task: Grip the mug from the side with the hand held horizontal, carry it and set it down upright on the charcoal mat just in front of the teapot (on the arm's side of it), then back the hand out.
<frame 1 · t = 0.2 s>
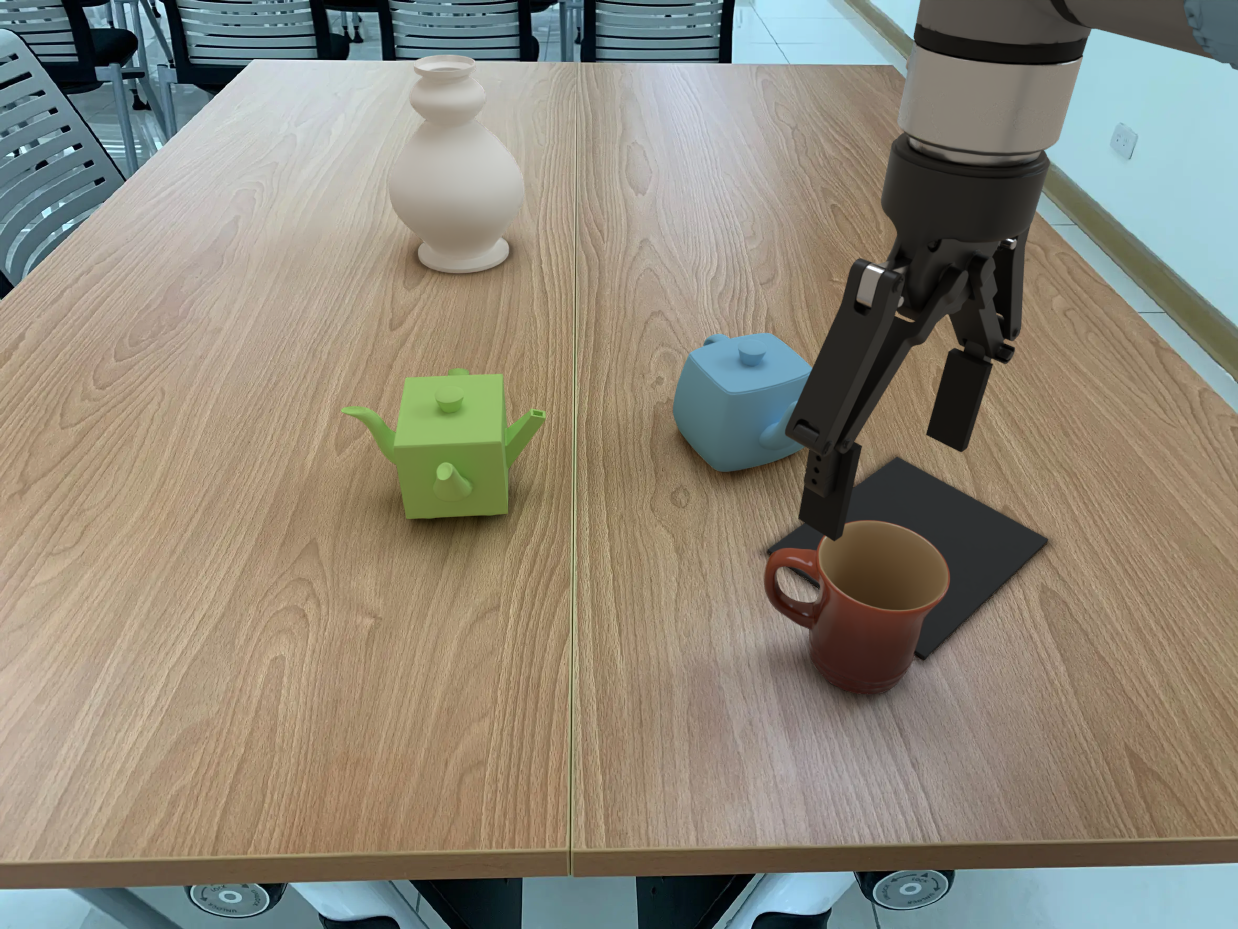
hand: (887, 482, 56), 19 cm above the table, tool pointing down, fingers open, 13 cm apart
kettle: (455, 493, 84), on the table
decorative vase: (464, 254, 124), on the table
front mat: (908, 547, 79), on the table
mug: (832, 657, 70), on the table
teapot: (747, 450, 90), on the table
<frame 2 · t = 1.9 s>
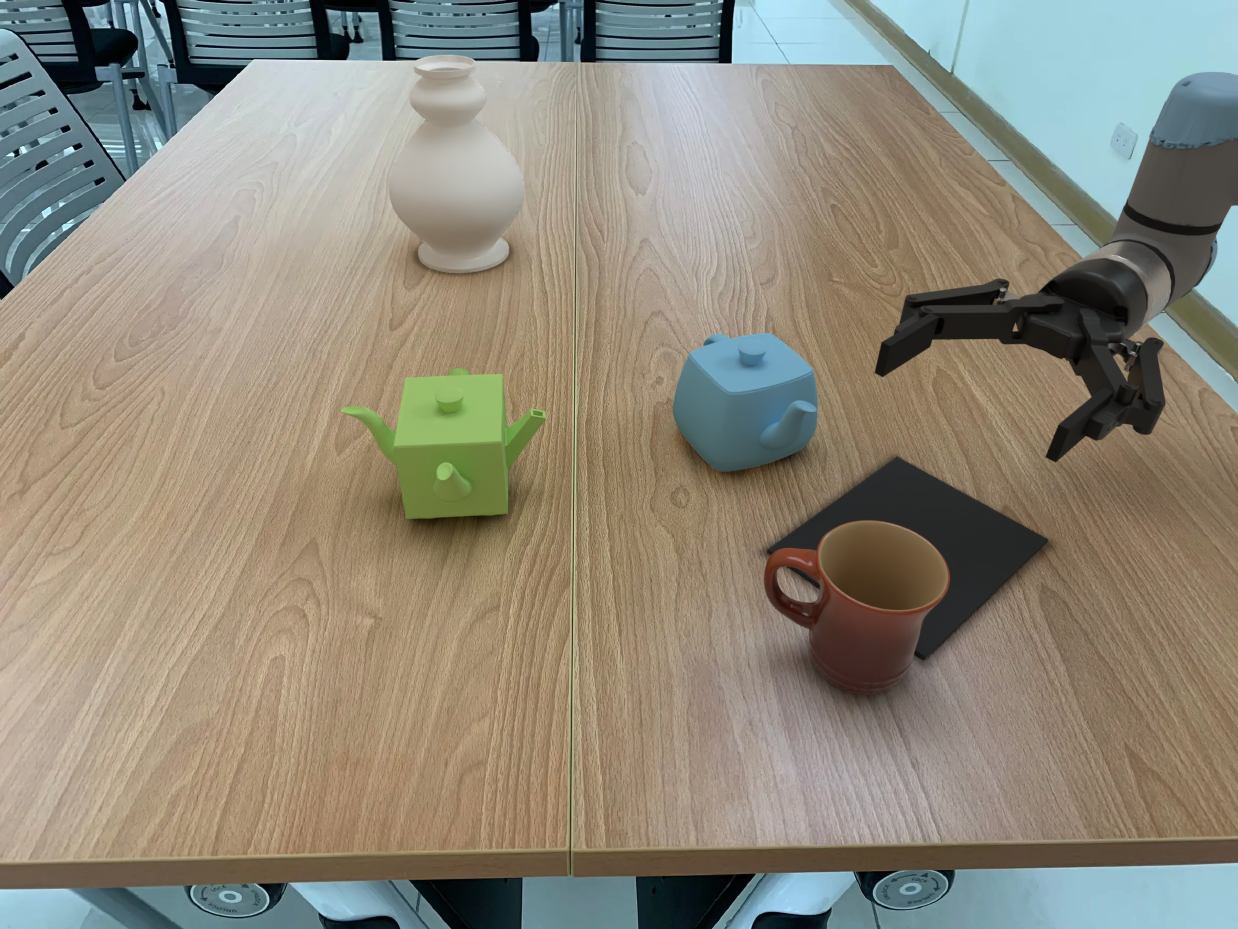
hand: (963, 399, 62), 20 cm above the table, tool horizontal, fingers open, 13 cm apart
nothing on the table moved.
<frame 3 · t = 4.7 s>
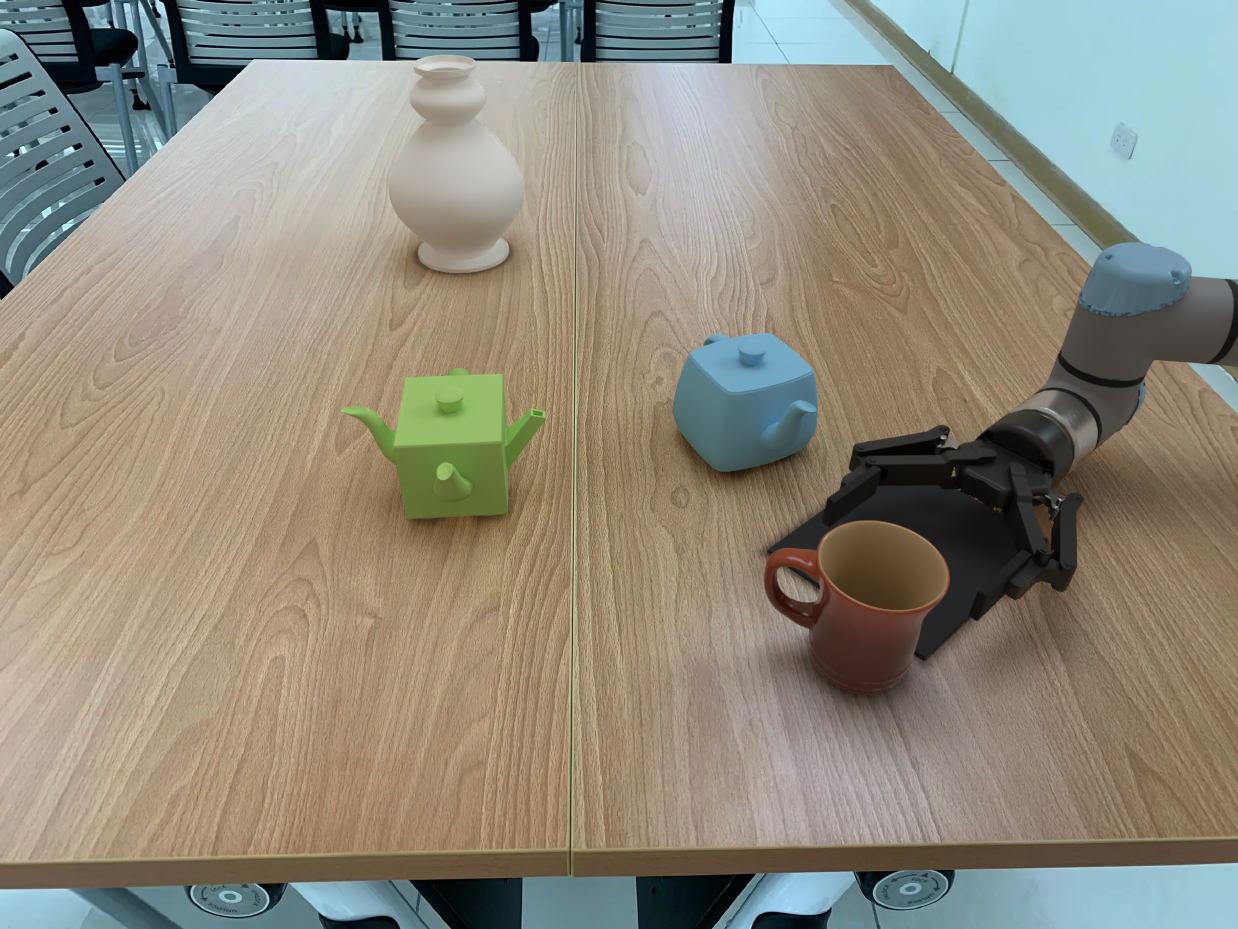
hand: (898, 557, 69), 7 cm above the table, tool horizontal, fingers open, 13 cm apart
nothing on the table moved.
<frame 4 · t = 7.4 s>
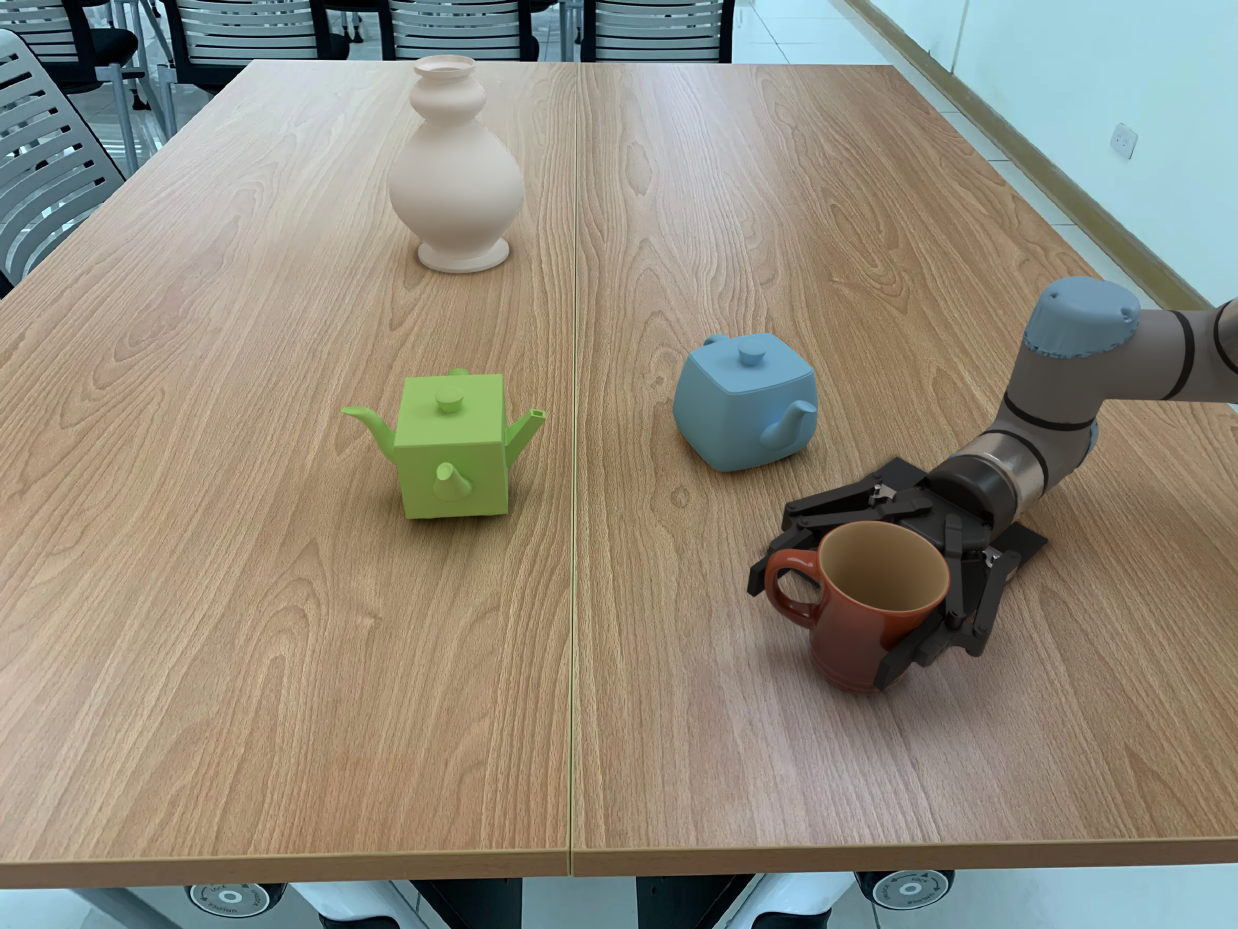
hand: (813, 627, 63), 7 cm above the table, tool horizontal, fingers closed on mug, 11 cm apart
mug: (832, 658, 70), on the table, touching gripper
everything else where it was.
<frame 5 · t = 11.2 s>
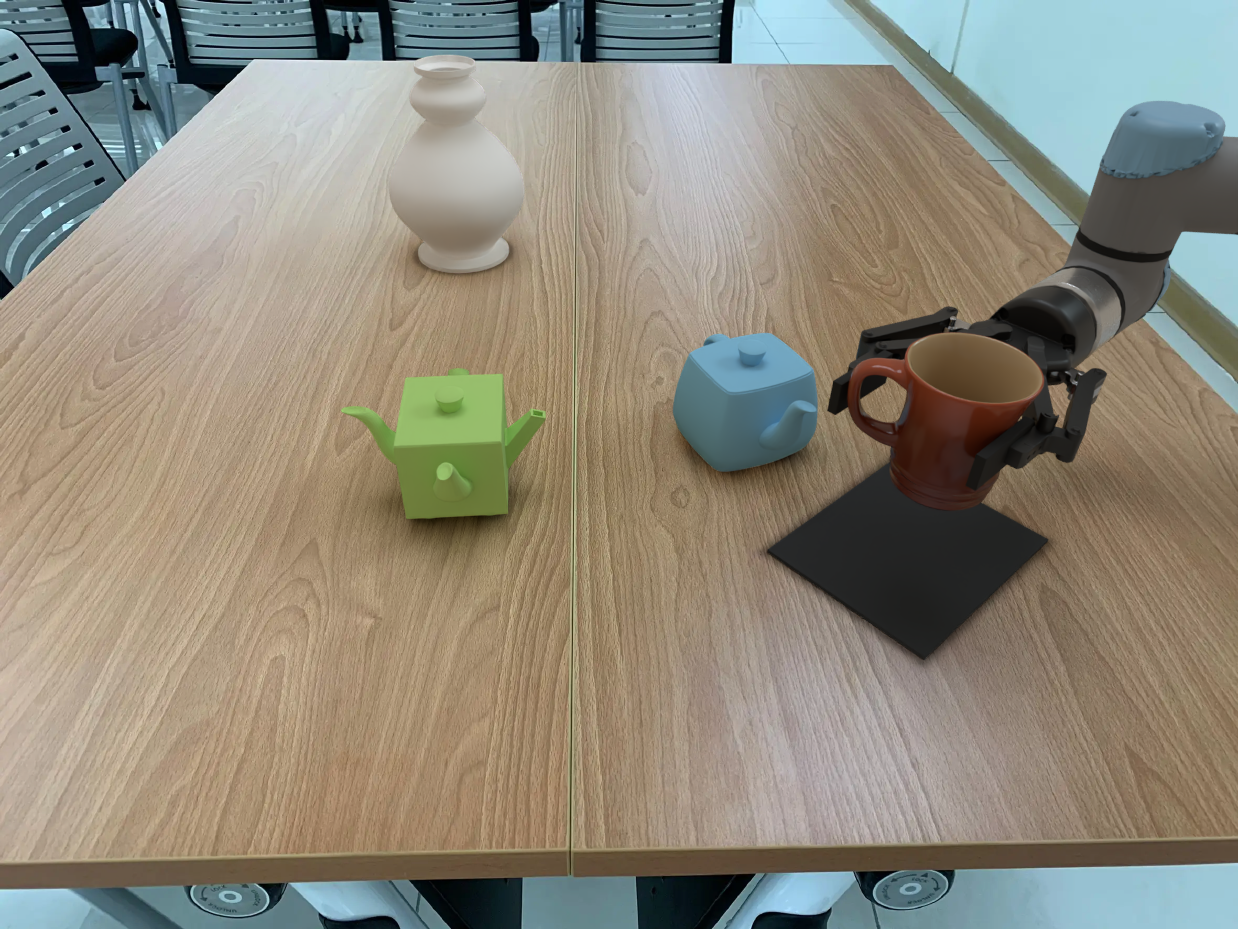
hand: (901, 433, 62), 18 cm above the table, tool horizontal, fingers closed on mug, 11 cm apart
mug: (912, 482, 68), point 11 cm above the table, touching gripper
everything else where it was.
when the fingers open (7 cm above the table, at t = 15.6 s): mug stays where it is, resting on front mat.
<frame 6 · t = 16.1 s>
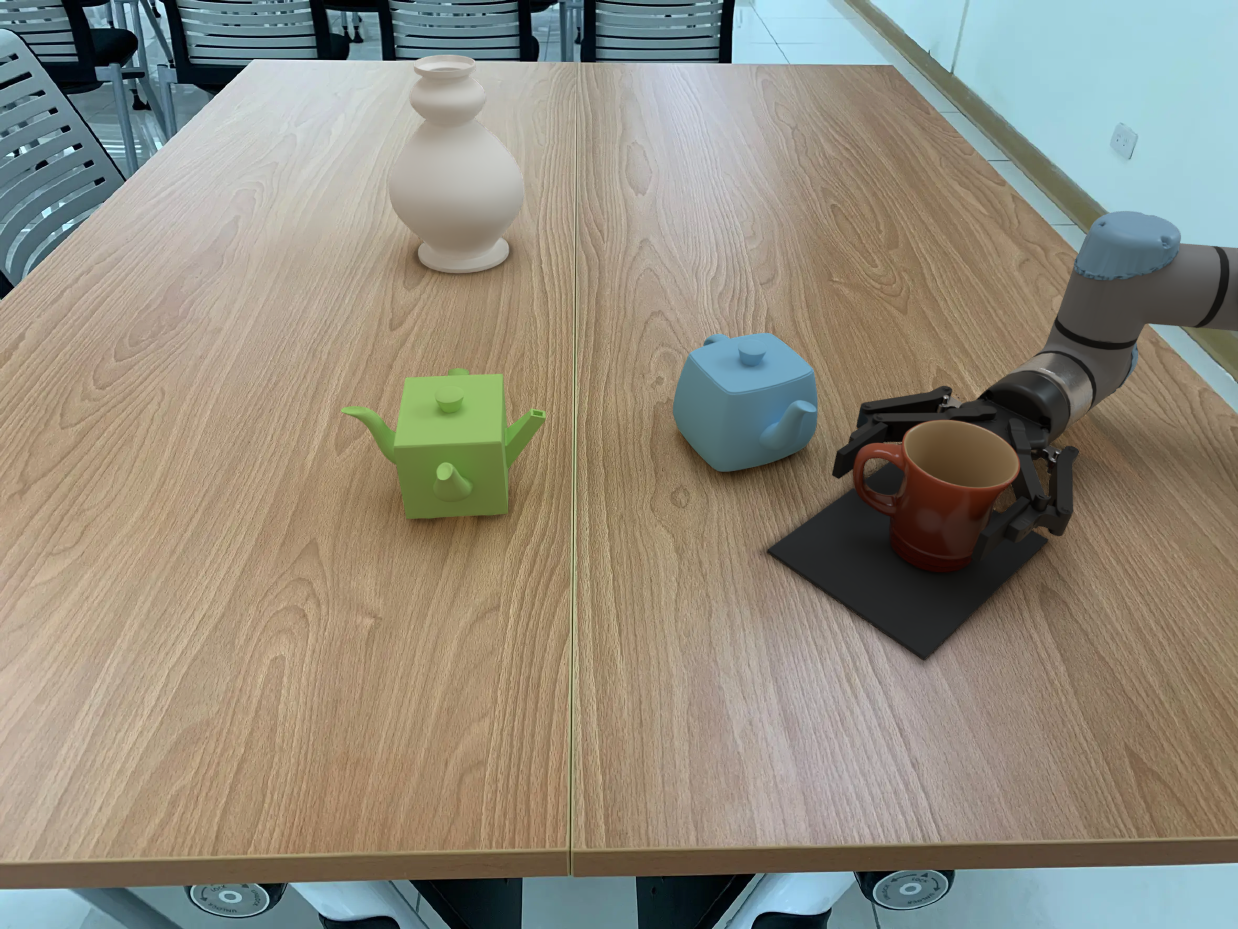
hand: (904, 504, 73), 7 cm above the table, tool horizontal, fingers open, 13 cm apart
mug: (909, 545, 79), resting on front mat
everything else where it was.
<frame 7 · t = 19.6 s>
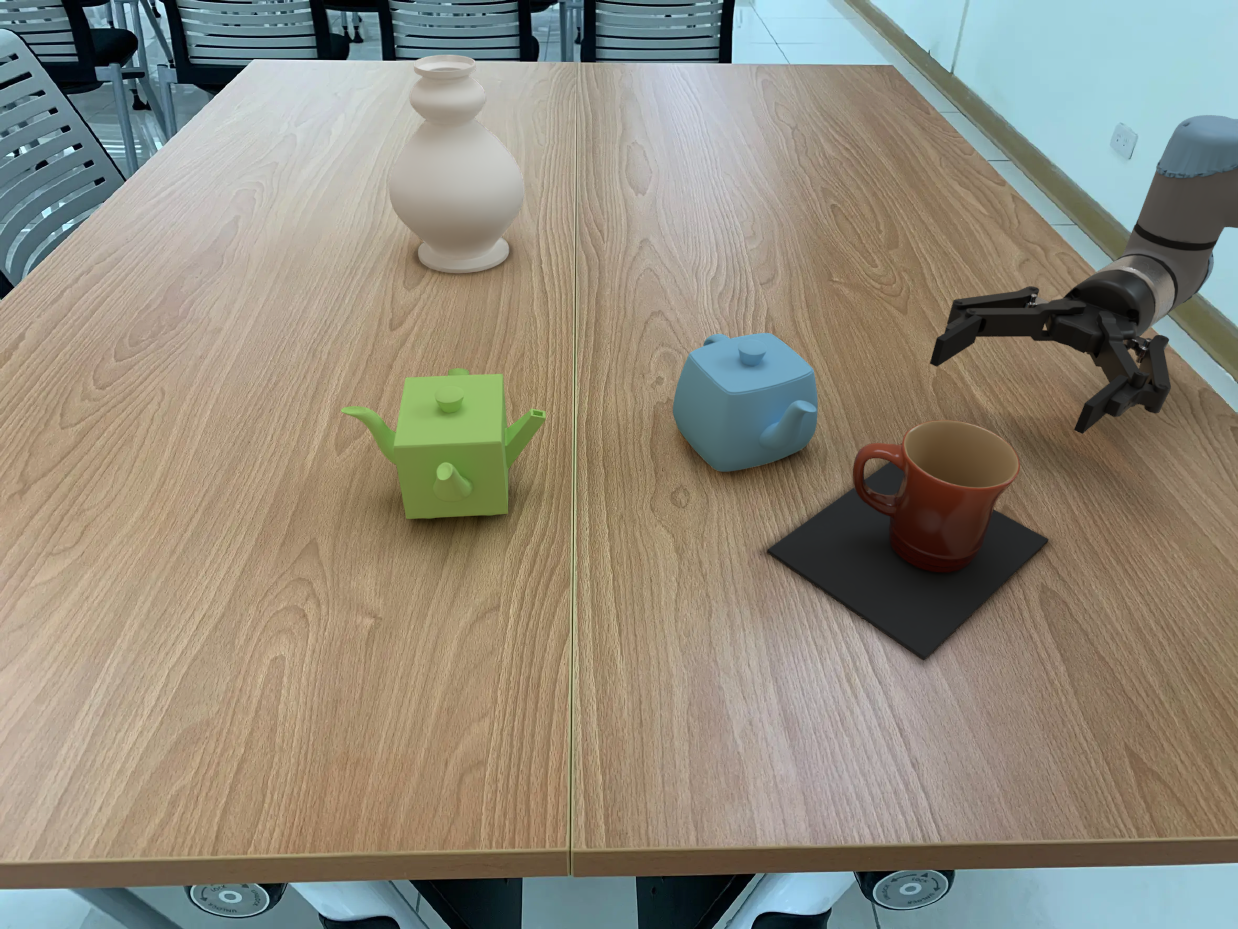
hand: (1006, 384, 76), 13 cm above the table, tool horizontal, fingers open, 13 cm apart
nothing on the table moved.
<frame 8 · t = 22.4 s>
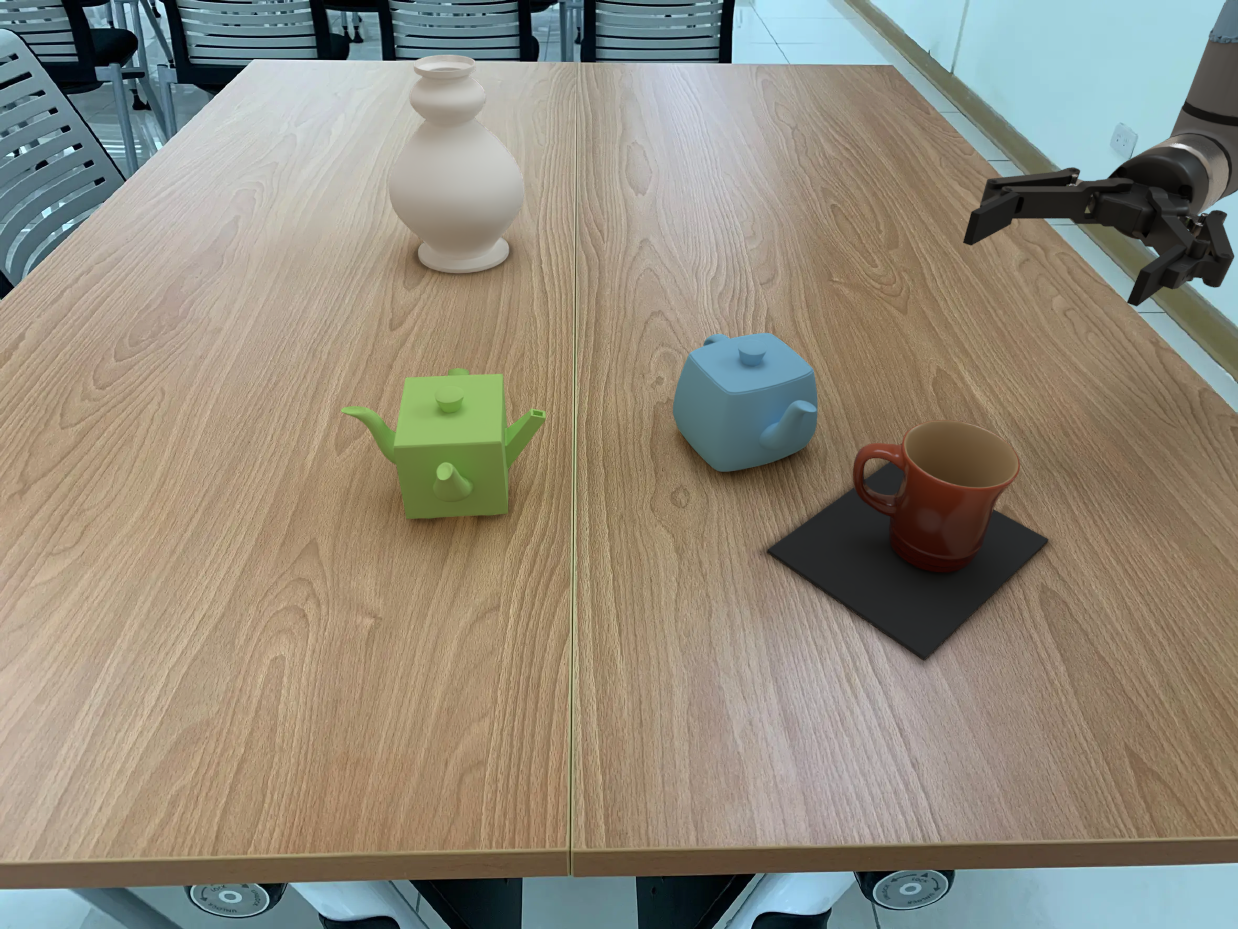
hand: (1049, 257, 69), 25 cm above the table, tool horizontal, fingers open, 13 cm apart
nothing on the table moved.
at the end: mug inside the target area on the table beside the teapot (0.1 cm from its centre), resting on front mat; mug tilted 0°; the gripper is holding nothing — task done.
